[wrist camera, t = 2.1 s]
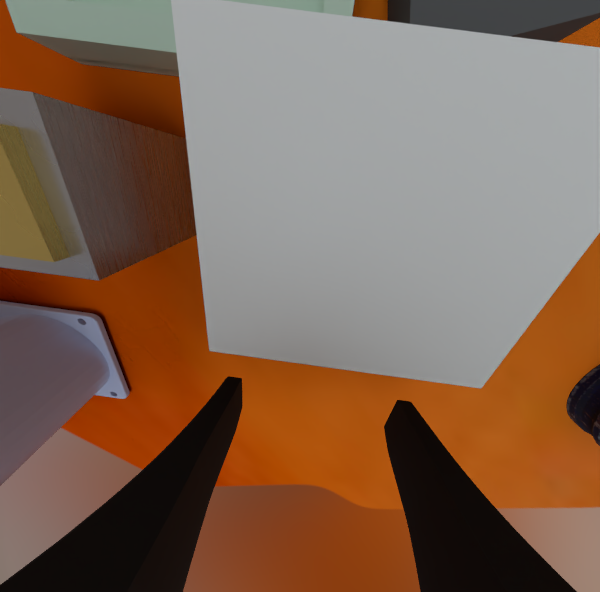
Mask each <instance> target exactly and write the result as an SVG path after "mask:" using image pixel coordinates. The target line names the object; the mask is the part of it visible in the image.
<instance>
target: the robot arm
mask: <svg viewBox="0 0 600 592" xmlns="http://www.w3.org/2000/svg"><path fill="white" fill-rule="evenodd" d="M129 394H130V392H129V389H128V387H127V384H126V381H125V379H124V376H123V374H122V371H121V368H120V366H119V363H118V361H117V358H116V355H115V353H114V350H113V348H112V345H111V342H110V340H109V337H108V335H107V332H106V330H105V327H104V324H103V322H102V320H101V318H100V317H99V316H98V315H96V314H93V313H86V312H79V311H71V310H64V309H57V308H49V307H42V306H35V305H28V304H20V303H13V302H6V301H0V486H1V485H2V484H3V483H4V482H5V481H6V480H7V479H8V478H9V477H10V476H11V475H12V474H13V473H14V472H15V471H16V470H17V469H18V468H19V467H20V466H21V465H22V464H23V463H24V462H25V461H27V460H28V459H29V458H30V457H31V456H32V455H33V454H34V453H35V452H36V451H37V450H38V449H39V448H40V447H41V446H42V445H43V444H44V443H45V442H46V441H47V440H48V439H49V438H50V437H51V436H52V435H53V434H54V433H55V432H57V430H58V429H60V428H61V427H62V426H63V425H64V424H65V423H66V422H67V421H68V420H69V419H70V418H71V417H72V416H73V415H74V414H75V413H76V412H77V411H78V410H79V409H80V408H81V407H82V406H83V405H84V404H85V403H86V402H87V401H88V400H90V399H91V398H92V397H93V396H94V395H99V396H106V397H113V398H120V399H125V398H126V397H127V396H128V395H129ZM241 410H242V378H236V377H227V378H226V379H225V381H224V382H223V383H222V385H221V386H220V387H219V389H218V390H217V391H216V392H215V394H214V395H213V396H212V397H211V399H210V400H209V401H208V402H207V403H206V405H205V406H204V407H203V408H202V409H201V410H200V412H199V413H198V414H197V415H196V416H195V417H194V418H193V420H192V421H191V422H190V423H189V424H188V425H187V426H186V427H185V428H184V429H183V430H182V431H181V433H180V434H179V435H178V436H177V437H176V438H175V439H174V440H173V441H172V442H171V443H170V444H169V445H168V446H167V447H166V448H165V449H164V450H163V451H162V452H161V453H160V454H159V455H158V456H157V457H156V458H155V459H154V460H153V461H152V462H151V463H150V464H149V465H147V466H146V467H145V468H144V469H143V470H142V471H141V472H140V473H139V474H138V475H137V476H136V477H135V478H133V479H132V480H131V481H130V482H129V483H128V484H127V485H125V486H124V487H123V488H122V489H121V490H120V491H119V492H117V493H116V494H115V495H114V496H113V497H112V498H111V499H109V500H108V501H107V502H106V503H105V504H103V505H102V506H101V507H100V508H99V509H97V510H96V511H95V512H94V513H92V514H91V515H90V516H89V517H87V518H86V519H85V520H84V521H83V522H82V523H80V524H79V525H78V526H77V527H75V528H74V529H73V530H72V531H70V532H69V533H68V534H67V535H65V536H64V537H63V538H62V539H60V540H59V541H58V542H56V543H55V544H54V545H53V546H51V547H50V548H49V549H47V550H46V551H45V552H43V553H42V554H41V555H40V556H38V557H37V558H35V559H34V560H33V561H31V562H30V563H29V564H27V565H26V566H25V567H23V568H22V569H21V570H20V571H18V572H17V573H16V574H14V575H13V576H12V577H10V578H9V579H8V580H6V581H5V582H4V583H2V584H1V585H0V592H183V589H184V585H185V582H186V578H187V575H188V571H189V568H190V564H191V561H192V558H193V554H194V551H195V547H196V544H197V540H198V537H199V533H200V530H201V527H202V523H203V520H204V517H205V513H206V510H207V507H208V504H209V501H210V498H211V495H212V492H213V489H214V486H215V484H216V481H217V478H218V476H219V473H220V471H221V468H222V465H223V463H224V460H225V458H226V455H227V452H228V450H229V447H230V444H231V442H232V439H233V436H234V434H235V431H236V428H237V424H238V421H239V417H240V413H241ZM384 429H385V436H386V442H387V448H388V453H389V457H390V461H391V464H392V468H393V472H394V475H395V479H396V483H397V486H398V490H399V494H400V497H401V501H402V504H403V508H404V511H405V515H406V519H407V524H408V528H409V532H410V537H411V542H412V547H413V552H414V557H415V562H416V568H417V573H418V579H419V585H420V590H421V592H576V591H575V590H574V589H573V588H572V587H571V586H570V585H569V584H568V583H567V582H566V581H565V580H564V579H563V578H562V577H561V576H560V575H559V574H558V573H557V572H556V571H555V570H554V569H553V568H552V567H551V566H550V565H549V564H548V563H547V562H546V561H545V560H544V559H543V558H542V557H541V556H540V555H539V554H538V553H537V552H536V551H535V550H534V549H533V548H532V547H531V546H530V545H529V544H528V543H527V541H526V540H525V539H524V538H523V537H522V536H521V535H520V534H519V533H518V532H517V531H516V530H515V529H514V528H513V527H512V526H511V525H510V523H509V522H508V521H507V520H506V519H505V518H504V517H503V516H502V515H501V514H500V513H499V511H498V510H497V509H496V508H495V507H494V506H493V505H492V504H491V503H490V501H489V500H488V499H487V498H486V497H485V496H484V495H483V493H482V492H481V491H480V490H479V489H478V488H477V486H476V485H475V484H474V483H473V482H472V480H471V479H470V478H469V477H468V476H467V474H466V473H465V472H464V471H463V470H462V468H461V467H460V466H459V465H458V463H457V462H456V461H455V460H454V458H453V457H452V456H451V454H450V453H449V452H448V451H447V449H446V448H445V447H444V445H443V444H442V443H441V442H440V440H439V439H438V438H437V436H436V435H435V434H434V432H433V431H432V430H431V428H430V427H429V426H428V424H427V423H426V422H425V420H424V419H423V418H422V416H421V415H420V413H419V412H418V411H417V409H416V408H415V407H414V405H413V404H412V403H411V402H409V401H402V400H397V402H396V404H395V406H394V408H393V410H392V412H391V414H390V416H389V418H388V420H387V422H386V424H385V426H384Z"/></svg>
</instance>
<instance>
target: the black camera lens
mask: <svg viewBox="0 0 600 592" xmlns="http://www.w3.org/2000/svg"><path fill="white" fill-rule="evenodd" d="M567 412H568V415H569V416H570V418H571V419H572V420H573V421H574V422H575V423H576V424H577V425H578V426H579V427H580V428H581V429H583V430H584V431H585V432H587V433H589V434H591V435H592V436H593V437H594V439H595V441H596V443H597V444H598V445H599V446H600V365H598V366H597V367H596V368H594V369H593V370H591V371H590V372H589V373H588V374H587V375H586V376H584V377H583V378H582V379H581V380H580V381H579V382H578V384H577V385H576V386H575V387H574V389H573V390H572V392H571V393H570V395H569V398H568V400H567Z"/></svg>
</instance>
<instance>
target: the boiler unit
mask: <svg viewBox="0 0 600 592" xmlns="http://www.w3.org/2000/svg"><path fill="white" fill-rule="evenodd" d="M171 6H172V15H173V24H174V33H175V42H176V51H177V60H178V69H179V79H180V88H181V97H182V106H183V115H184V124H185V133H186V142H187V151H188V161H189V170H190V179H191V188H192V197H193V206H194V215H195V224H196V234H197V243H198V252H199V261H200V270H201V279H202V288H203V297H204V306H205V316H206V325H207V334H208V343H209V351H213V352H221V353H228V354H235V355H242V356H250V357H257V358H264V359H271V360H279V361H286V362H293V363H300V364H308V365H315V366H322V367H329V368H337V369H344V370H351V371H358V372H366V373H373V374H380V375H387V376H395V377H402V378H409V379H416V380H424V381H431V382H438V383H445V384H453V385H460V386H467V387H474V388H482V387H483V386H484V384H485V383H486V382H487V380H488V379H489V378H490V376H491V375H492V374H493V372H494V371H495V370H496V368H497V367H498V366H499V364H500V363H501V362H502V360H503V359H504V358H505V356H506V355H507V354H508V353H509V351H510V350H511V349H512V347H513V346H514V345H515V343H516V342H517V341H518V339H519V338H520V337H521V335H522V334H523V333H524V331H525V330H526V329H527V327H528V326H529V325H530V324H531V322H532V321H533V320H534V318H535V317H536V316H537V314H538V313H539V312H540V310H541V309H542V308H543V306H544V305H545V304H546V302H547V301H548V300H549V298H550V297H551V296H552V294H553V293H554V292H555V291H556V289H557V288H558V287H559V285H560V284H561V283H562V281H563V280H564V279H565V277H566V276H567V275H568V273H569V272H570V271H571V269H572V268H573V267H574V265H575V264H576V263H577V262H578V260H579V259H580V258H581V256H582V255H583V254H584V252H585V251H586V250H587V248H588V247H589V246H590V244H591V243H592V242H593V240H594V239H595V238H596V236H597V235H598V234H599V233H600V48H599V47H591V46H583V45H575V44H567V43H559V42H551V41H543V40H535V39H527V38H519V37H511V36H503V35H495V34H487V33H479V32H471V31H463V30H455V29H447V28H439V27H431V26H423V25H415V24H407V23H399V22H391V21H383V20H375V19H367V18H359V17H351V16H343V15H335V14H327V13H319V12H311V11H303V10H295V9H287V8H280V7H272V6H264V5H256V4H248V3H240V2H232V1H224V0H171Z"/></svg>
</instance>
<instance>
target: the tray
mask: <svg viewBox="0 0 600 592" xmlns="http://www.w3.org/2000/svg"><path fill="white" fill-rule="evenodd" d="M5 1H6V4H7V6H8V9H9V12H10V15H11V18H12V21H13V24H14V27H15V29H16V32H17V33H19V34H21V35H23V36H25V37H27V38H29V39H31V40H33V41H35V42H37V43H40V44H42V45H44V46H46V47H48V48H50V49H52V50H54V51H56V52H58V53H60V54H62V55H64V56H66V57H68V58H70V59H73V60H75V61H77V62H79V63H81V64H85V65H93V66H101V67H109V68H117V69H124V70H132V71H140V72H148V73H156V74H163V75H171V76H179V69H178V60H177V51H176V42H175V33H174V24H173V15H172V6H171V0H5ZM224 1H232V2H240V3H248V4H256V5H264V6H272V7H280V8H287V9H295V10H303V11H311V12H319V13H327V14H335V15H343V16H351V17H352V14H353V7H354V1H355V0H224Z"/></svg>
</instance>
